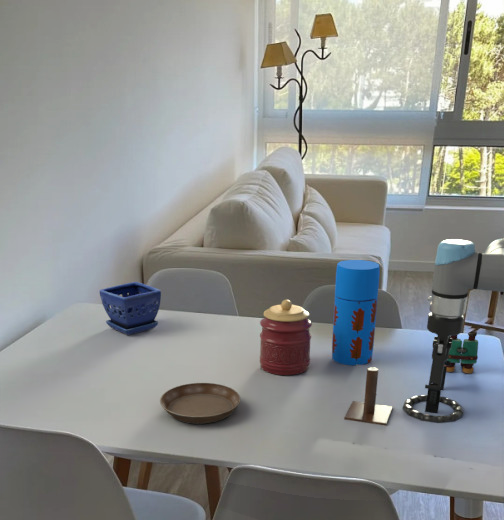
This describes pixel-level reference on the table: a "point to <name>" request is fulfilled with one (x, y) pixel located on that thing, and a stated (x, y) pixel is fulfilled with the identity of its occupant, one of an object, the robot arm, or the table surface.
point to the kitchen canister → (285, 339)
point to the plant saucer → (200, 402)
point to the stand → (369, 404)
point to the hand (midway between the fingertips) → (434, 403)
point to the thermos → (355, 311)
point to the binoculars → (463, 353)
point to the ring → (430, 418)
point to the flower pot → (131, 307)
